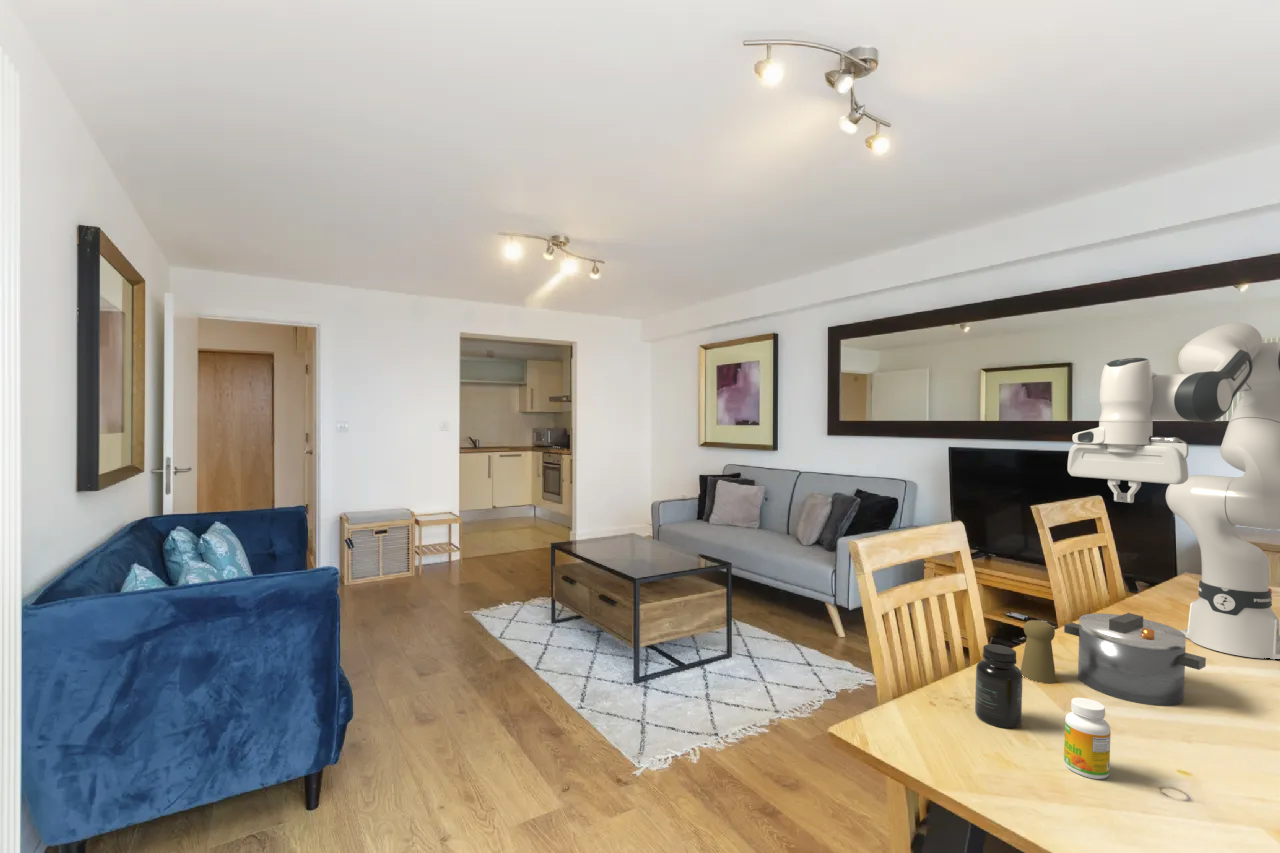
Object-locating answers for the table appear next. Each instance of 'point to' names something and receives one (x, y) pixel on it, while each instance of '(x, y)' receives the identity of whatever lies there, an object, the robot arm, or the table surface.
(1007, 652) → the supplement bottle
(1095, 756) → the supplement bottle
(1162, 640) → the cooker lid
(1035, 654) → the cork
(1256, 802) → the table surface
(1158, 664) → the cooker pot
